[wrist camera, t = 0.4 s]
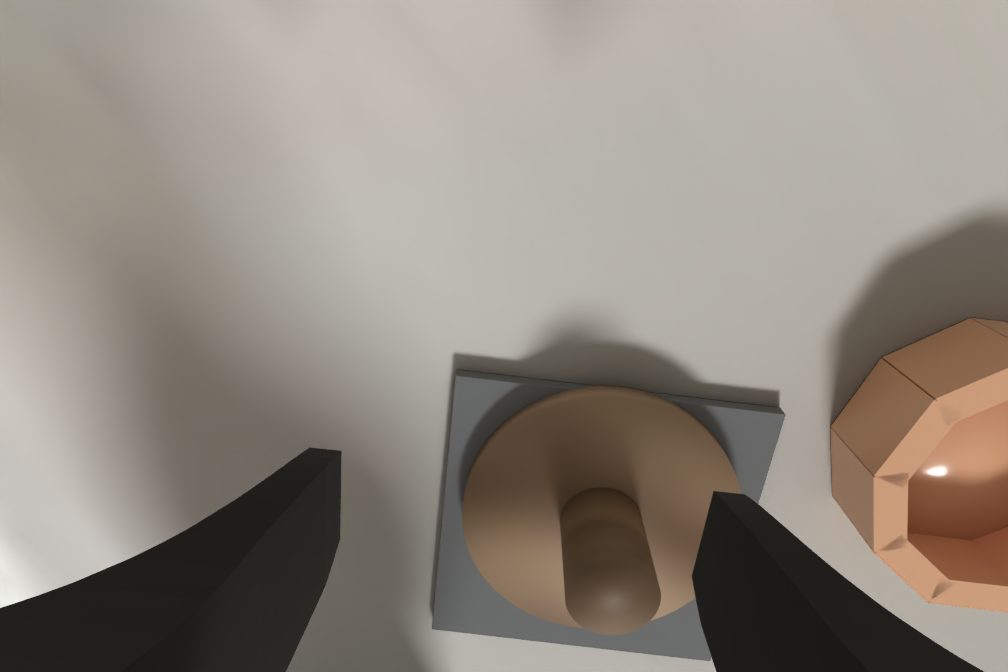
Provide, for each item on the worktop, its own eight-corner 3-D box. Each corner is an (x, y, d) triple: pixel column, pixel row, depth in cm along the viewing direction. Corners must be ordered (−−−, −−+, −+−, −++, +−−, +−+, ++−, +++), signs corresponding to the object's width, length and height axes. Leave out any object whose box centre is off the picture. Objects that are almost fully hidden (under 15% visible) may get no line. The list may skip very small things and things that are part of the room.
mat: (706, 650, 26) (710, 661, 26) (433, 619, 26) (431, 629, 26) (779, 407, 22) (785, 414, 22) (457, 369, 22) (455, 375, 22)
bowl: (1044, 561, 24) (1112, 624, 21) (795, 532, 24) (830, 591, 21) (1158, 340, 21) (1256, 380, 18) (871, 305, 21) (924, 341, 18)
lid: (702, 626, 25) (735, 732, 21) (453, 597, 25) (438, 697, 21) (766, 403, 21) (822, 479, 17) (477, 369, 21) (465, 436, 17)
